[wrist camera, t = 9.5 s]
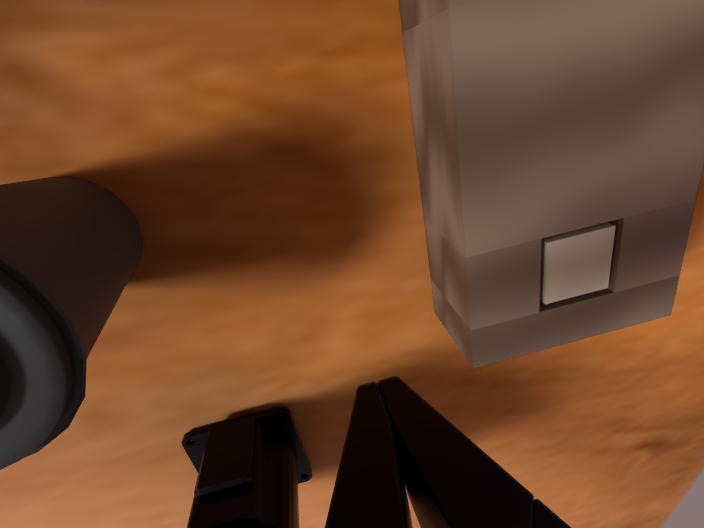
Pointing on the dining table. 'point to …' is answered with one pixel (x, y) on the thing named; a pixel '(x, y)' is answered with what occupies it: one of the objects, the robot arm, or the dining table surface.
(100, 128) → the dining table surface
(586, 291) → the peg
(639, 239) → the grey peg board
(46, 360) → the coffee cup
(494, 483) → the robot arm
